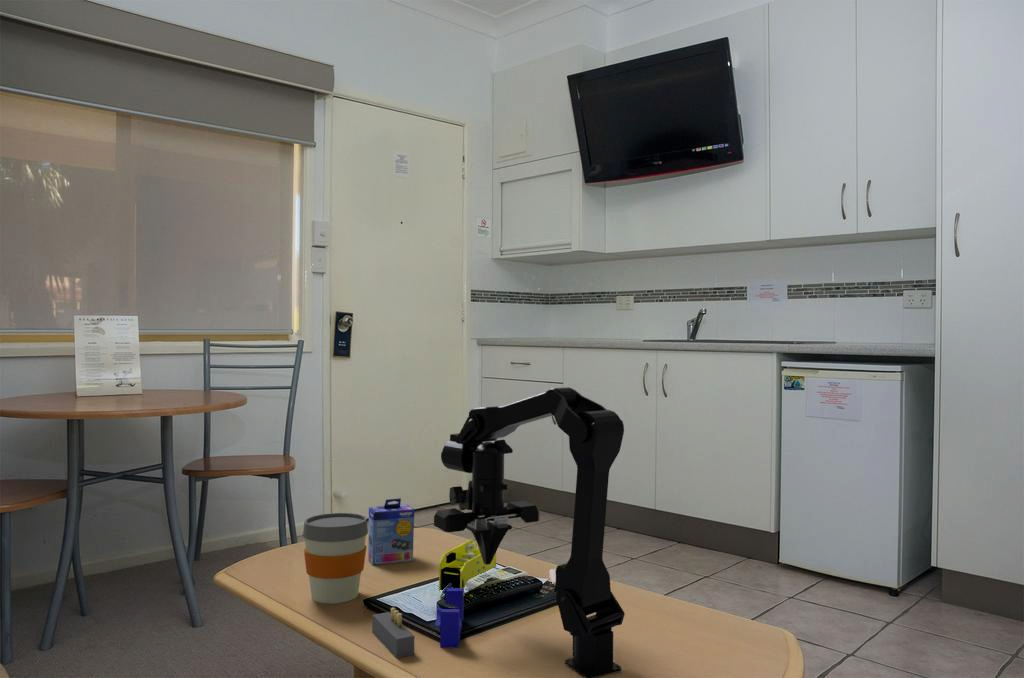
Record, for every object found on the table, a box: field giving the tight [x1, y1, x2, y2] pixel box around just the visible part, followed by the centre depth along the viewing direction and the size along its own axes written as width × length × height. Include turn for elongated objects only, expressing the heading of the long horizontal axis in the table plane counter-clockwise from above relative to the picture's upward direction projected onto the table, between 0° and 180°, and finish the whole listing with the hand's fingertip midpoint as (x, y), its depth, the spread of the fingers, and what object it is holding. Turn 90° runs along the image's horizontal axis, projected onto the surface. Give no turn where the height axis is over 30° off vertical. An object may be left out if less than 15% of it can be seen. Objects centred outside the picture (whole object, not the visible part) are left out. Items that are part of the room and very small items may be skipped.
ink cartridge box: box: [367, 498, 415, 566], centre depth 171 cm, size 10×6×14 cm, turn 115°
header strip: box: [371, 607, 415, 659], centre depth 123 cm, size 12×3×5 cm, turn 29°
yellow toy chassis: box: [438, 538, 497, 592], centre depth 152 cm, size 16×6×8 cm, turn 156°
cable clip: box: [434, 588, 465, 649], centre depth 128 cm, size 12×4×6 cm, turn 0°
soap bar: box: [548, 568, 556, 585], centre depth 155 cm, size 5×9×2 cm, turn 2°
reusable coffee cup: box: [302, 512, 369, 604], centre depth 146 cm, size 13×13×15 cm
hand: (487, 563), depth 133 cm, fingers closed
